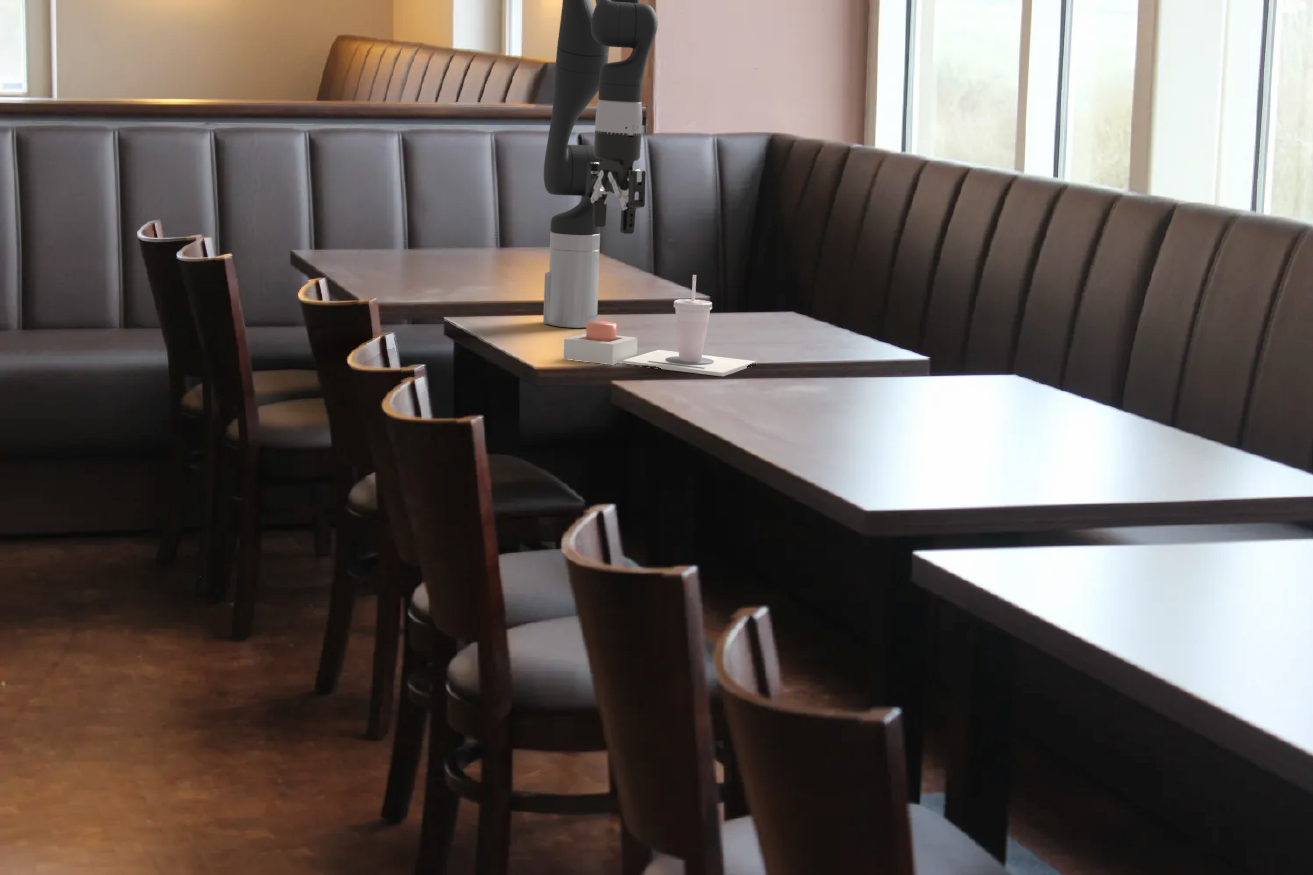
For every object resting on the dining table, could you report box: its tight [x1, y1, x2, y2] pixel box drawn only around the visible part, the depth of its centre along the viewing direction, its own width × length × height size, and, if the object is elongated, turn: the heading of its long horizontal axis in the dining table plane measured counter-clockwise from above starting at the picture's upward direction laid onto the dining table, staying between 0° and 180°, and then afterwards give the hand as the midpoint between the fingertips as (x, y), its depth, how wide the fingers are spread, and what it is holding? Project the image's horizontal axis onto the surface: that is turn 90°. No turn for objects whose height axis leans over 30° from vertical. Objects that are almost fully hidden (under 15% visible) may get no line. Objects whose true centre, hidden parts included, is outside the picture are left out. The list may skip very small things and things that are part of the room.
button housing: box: [563, 332, 638, 364], centre depth 283 cm, size 9×9×4 cm
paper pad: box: [622, 349, 757, 377], centre depth 282 cm, size 18×14×1 cm
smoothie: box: [673, 274, 713, 362], centre depth 280 cm, size 6×6×14 cm
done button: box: [585, 320, 618, 342], centre depth 282 cm, size 5×5×4 cm
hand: (612, 230), depth 279 cm, fingers open, 8 cm apart
